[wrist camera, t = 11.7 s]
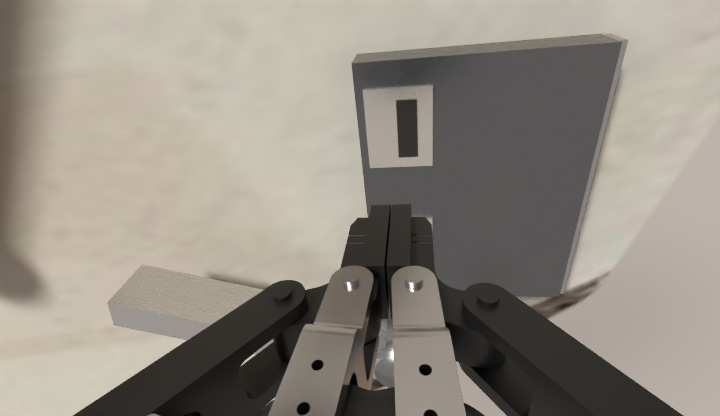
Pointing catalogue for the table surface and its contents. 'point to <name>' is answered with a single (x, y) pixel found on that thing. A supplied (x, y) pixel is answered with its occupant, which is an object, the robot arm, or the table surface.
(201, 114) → the table surface
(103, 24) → the table surface
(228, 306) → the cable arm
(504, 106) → the panel
